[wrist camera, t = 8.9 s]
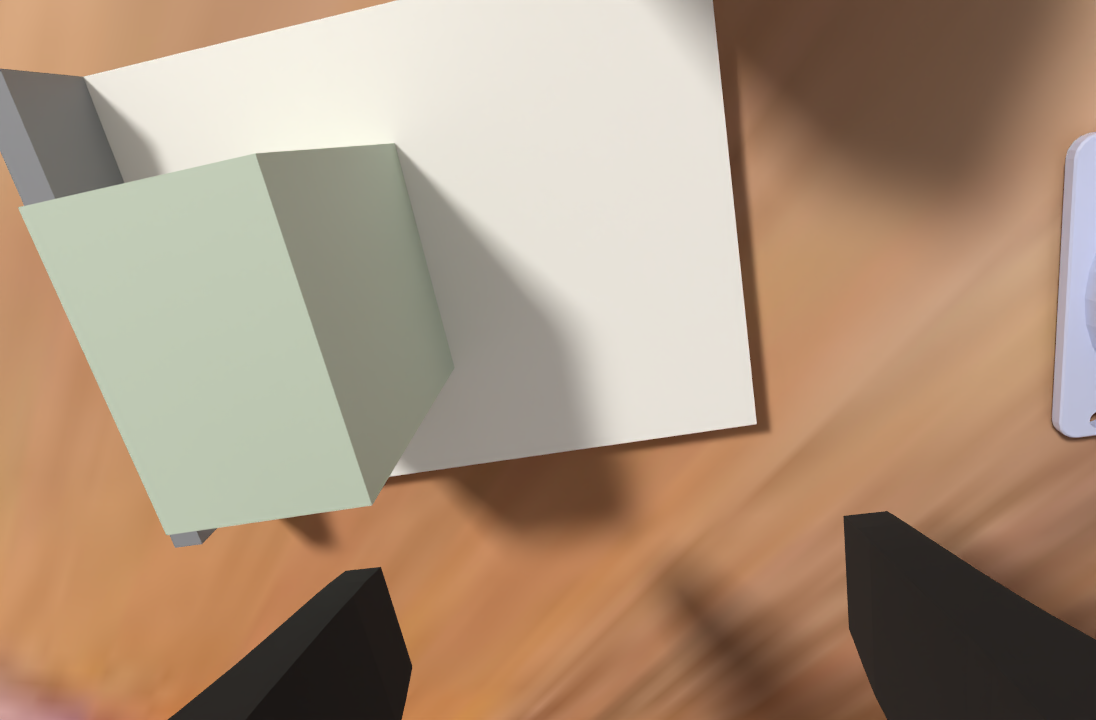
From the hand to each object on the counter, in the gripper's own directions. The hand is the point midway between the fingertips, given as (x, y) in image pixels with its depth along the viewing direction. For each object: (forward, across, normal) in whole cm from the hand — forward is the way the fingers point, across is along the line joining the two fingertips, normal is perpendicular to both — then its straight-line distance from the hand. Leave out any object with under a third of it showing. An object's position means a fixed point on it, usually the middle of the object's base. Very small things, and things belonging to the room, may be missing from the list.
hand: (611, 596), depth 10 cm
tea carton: (+8, +6, -4) cm, 11 cm away
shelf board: (+9, +4, -4) cm, 11 cm away
